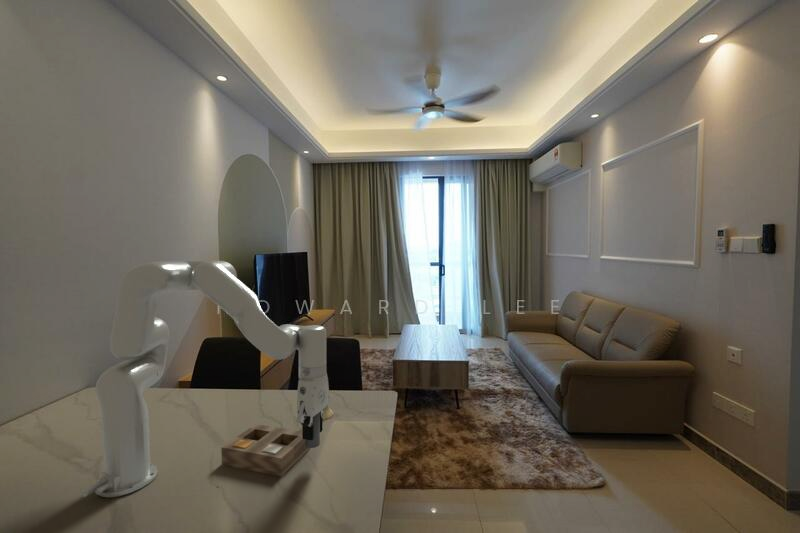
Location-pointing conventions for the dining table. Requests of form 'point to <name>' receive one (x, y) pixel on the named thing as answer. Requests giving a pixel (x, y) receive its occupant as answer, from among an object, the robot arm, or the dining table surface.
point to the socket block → (265, 450)
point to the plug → (316, 440)
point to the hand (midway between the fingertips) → (312, 434)
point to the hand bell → (327, 413)
